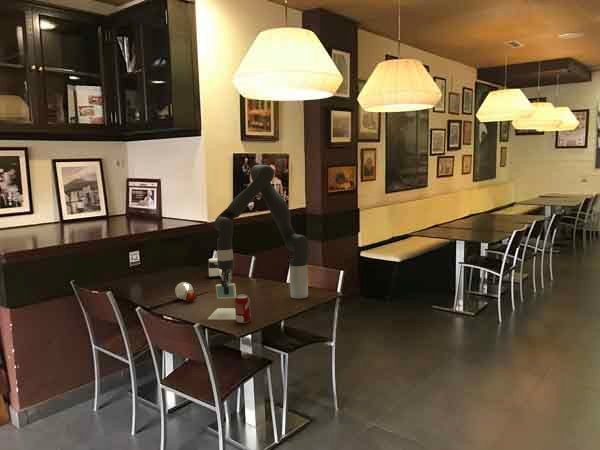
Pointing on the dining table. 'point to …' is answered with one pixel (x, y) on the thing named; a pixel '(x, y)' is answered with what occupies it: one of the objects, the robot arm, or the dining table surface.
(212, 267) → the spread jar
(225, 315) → the mat
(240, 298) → the soda can
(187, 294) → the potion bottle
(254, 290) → the dining table surface
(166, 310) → the dining table surface
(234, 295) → the card deck
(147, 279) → the dining table surface
